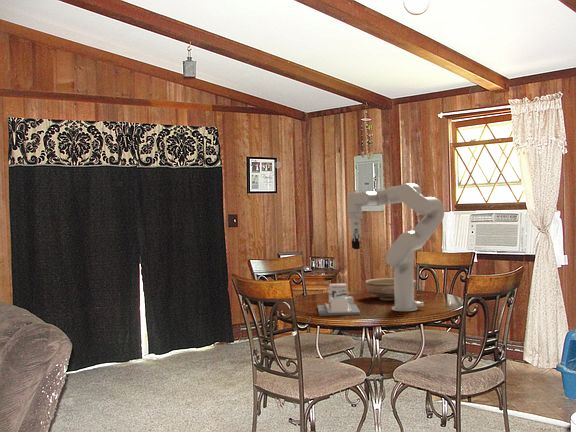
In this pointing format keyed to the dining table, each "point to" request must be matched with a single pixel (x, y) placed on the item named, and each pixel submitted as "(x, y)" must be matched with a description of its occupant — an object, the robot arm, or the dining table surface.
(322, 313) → the rail panel
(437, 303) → the dining table surface
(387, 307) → the dining table surface
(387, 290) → the ceramic bowl
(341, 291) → the ink box
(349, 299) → the block
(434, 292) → the dining table surface
